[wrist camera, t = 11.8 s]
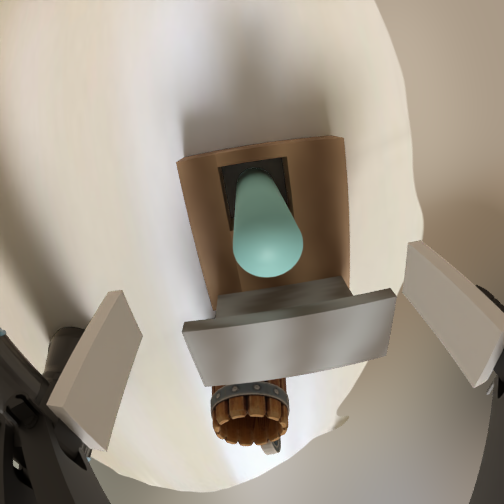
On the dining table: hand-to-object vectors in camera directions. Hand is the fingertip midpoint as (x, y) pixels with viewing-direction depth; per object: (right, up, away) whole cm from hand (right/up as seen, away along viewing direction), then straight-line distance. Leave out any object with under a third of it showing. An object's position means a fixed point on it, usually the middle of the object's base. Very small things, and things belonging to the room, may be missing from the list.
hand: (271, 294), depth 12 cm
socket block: (+1, +5, +20) cm, 21 cm away
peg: (-1, +9, +19) cm, 21 cm away
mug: (-1, -13, +29) cm, 32 cm away
